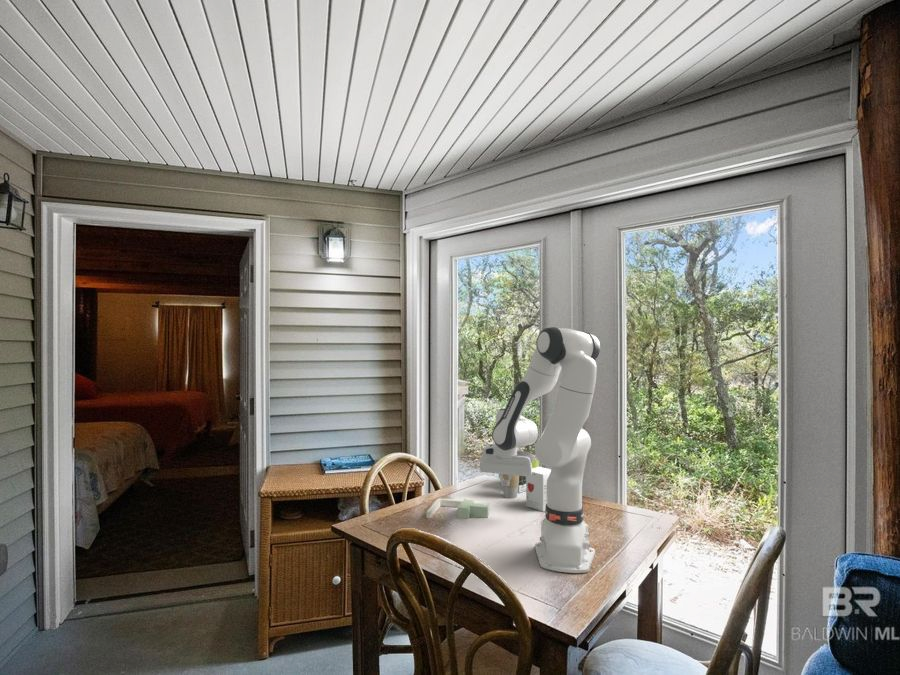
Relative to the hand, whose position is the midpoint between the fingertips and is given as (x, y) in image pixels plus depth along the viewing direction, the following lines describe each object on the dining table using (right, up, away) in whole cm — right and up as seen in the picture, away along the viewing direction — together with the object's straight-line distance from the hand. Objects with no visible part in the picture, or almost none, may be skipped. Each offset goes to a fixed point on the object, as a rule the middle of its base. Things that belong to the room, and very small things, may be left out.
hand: (505, 485), depth 179 cm
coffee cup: (+5, -13, +25) cm, 28 cm away
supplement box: (+16, -13, +12) cm, 24 cm away
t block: (-12, -12, +2) cm, 17 cm away
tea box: (+12, -13, +37) cm, 41 cm away
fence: (-23, -12, +5) cm, 27 cm away
